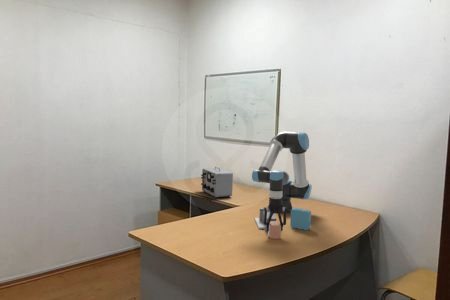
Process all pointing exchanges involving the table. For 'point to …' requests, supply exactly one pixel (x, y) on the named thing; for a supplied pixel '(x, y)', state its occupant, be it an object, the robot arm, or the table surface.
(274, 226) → the pink block
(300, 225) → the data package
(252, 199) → the table surface
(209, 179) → the vintage electronic device
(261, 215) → the grey flanged post
